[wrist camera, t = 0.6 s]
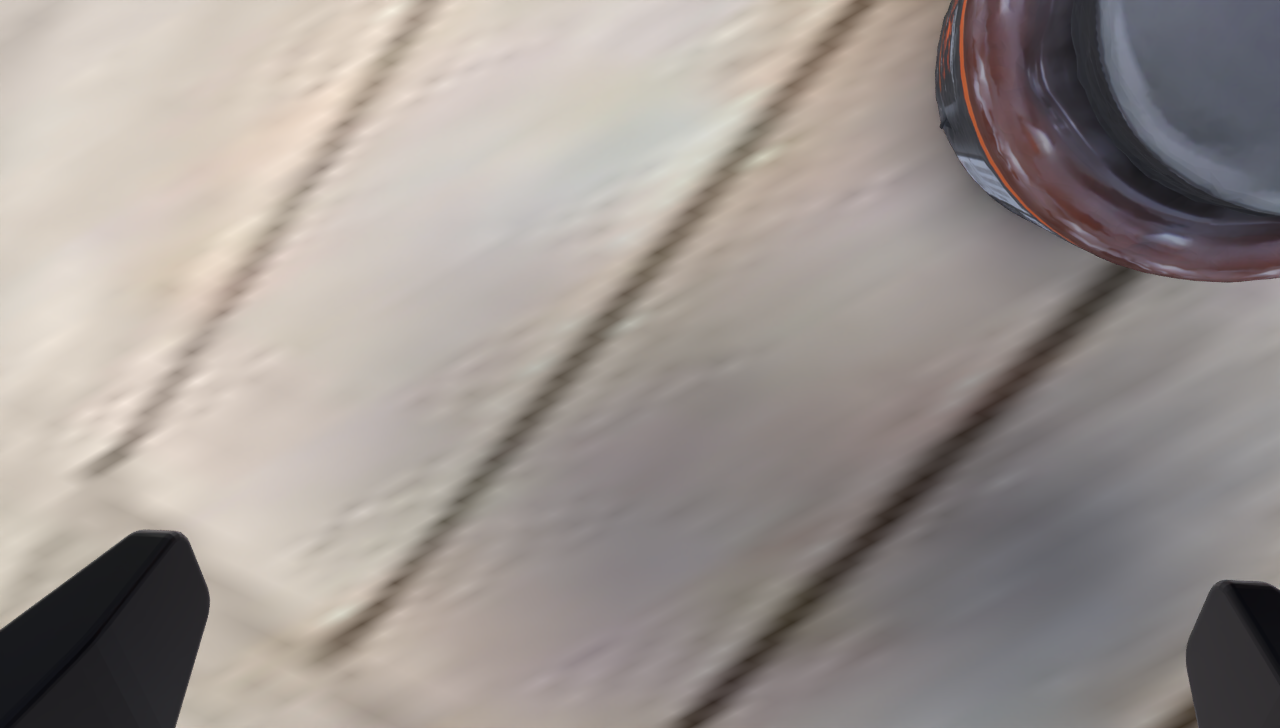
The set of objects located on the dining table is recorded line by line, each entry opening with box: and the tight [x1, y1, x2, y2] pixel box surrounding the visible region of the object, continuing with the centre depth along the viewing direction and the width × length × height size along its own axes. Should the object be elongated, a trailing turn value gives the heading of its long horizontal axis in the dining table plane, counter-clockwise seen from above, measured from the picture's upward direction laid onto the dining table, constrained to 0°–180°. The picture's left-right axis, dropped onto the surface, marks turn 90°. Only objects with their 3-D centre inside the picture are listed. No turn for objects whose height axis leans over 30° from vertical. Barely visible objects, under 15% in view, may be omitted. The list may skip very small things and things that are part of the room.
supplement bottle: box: [935, 0, 1280, 283], centre depth 15 cm, size 6×6×11 cm
